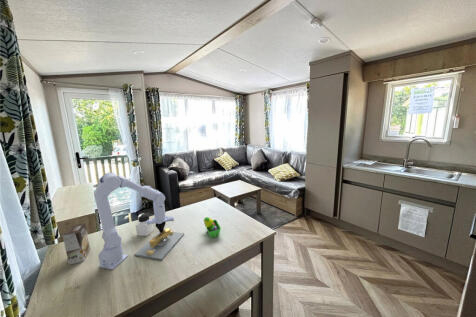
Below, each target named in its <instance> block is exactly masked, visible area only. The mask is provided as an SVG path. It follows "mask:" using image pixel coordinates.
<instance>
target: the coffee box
mask: <svg viewBox="0 0 476 317" xmlns="http://www.w3.org/2000/svg"><path fill="white" fill-rule="evenodd" d="M62 239H63V240H62V241H63V244H64V248H65V252H66V256H67V261H68V265H74V264H79V263H82V262H85V260H86V258H87V257H88V255H89V254H90V252H91V246H90V241H89V235H88V230H87V225H86V223H80V224H75V225H71V226H70V227H69V228H68V229H67V230H66V231H65V232H64V233H63V234H62Z"/></svg>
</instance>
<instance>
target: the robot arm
mask: <svg viewBox="0 0 476 317" xmlns="http://www.w3.org/2000/svg"><path fill="white" fill-rule="evenodd" d="M122 188H129V189H131V190H134V191H136V192H138V194H139V196H141V197H143V198H145V199H148V200H150V201H152V205H153V206H152V207H153V214H154V218H150V219H151V220H147V225H149V224H153V225H154V224H155V225H154V226H155V228H156V229H157V230H158V231H159V232H160V233H161V232H162V231H164V230H165V226H166V223H167V222H174V221H175V216H166V209H165V201H166V196H165V194H164V193H163V192H161V191H159V190H158V189H154V188H152V186H151V185H143V186H142V185H141V184H138V183H136V182H134V181H133V180H131V179H129V178H127V177H124V176H121V175H119V174H115V173H113V172H107V173H104V174H103V175H102V176H101V177H100V178H99V180H98V183H97V185H96V187H95V190H94V192H93V197H94V199H95V200H94V201H95V203H96V208H97V211H98V216H99V220H100V223H101V226H102V235H101V238H102V240H103V241H104V244H103V248H102V250H101V251H100V252H99V253H98V261H99V265H98V267H99V268H103V269H107V270H114V269H115V268H116V267H117V266H118V265H119V264H120V263H122V262H123V261H124V260H125V259H126V258H127V257H128V256H129V255H128V254H124V250H123V245H122V237H121V236H120V235H119V233H118V231H117V229H116V225H115V221H114V217H113V214H112V209H111V206H110V202H109V195H111V193H113V192H114V191H115V190H117V189H122ZM159 232H158V233H159Z"/></svg>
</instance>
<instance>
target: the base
mask: <svg viewBox="0 0 476 317" xmlns="http://www.w3.org/2000/svg"><path fill="white" fill-rule="evenodd" d="M158 234H160V232H157V233H156V234H155V235H154V236H153V237H152V238H151V239H153V238H154V237H155V236H157V235H158ZM184 235H185V233H184V232H178V231H177V232H176V231H174V230H171V234H170V235H169V236H168V237H167V238H168V240H167V241H166V242H165V243H163V244H159V245H156V246H155V247H154V248H153V247H150V242H149V241H148V242H146V243H145V244H144V245H143V246H142V247H141V248H140V249H138V250H137V251H136V252H135V253H134V256H135V257H141V258H146V259H152V260H158V261H163V260H164V258H165V257H166V256H167V255H168V254H169V253H170V252H171V251H172V249H173V248H174V247H175V246H176V245H177V243H178V242H179V241H180V240H181V239H182V238H183V237H184Z"/></svg>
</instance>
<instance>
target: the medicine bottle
mask: <svg viewBox="0 0 476 317" xmlns="http://www.w3.org/2000/svg"><path fill="white" fill-rule="evenodd" d="M151 219H152V218H150V214H149V213H146V212H143V213H141V214H139V215H138V216H137V221H138V222H137V223H136V224H135V230H136V236H141V237H142V236H144V237H145V236H146V237H147V236H149V235H150V234H151V233H152V232H153V231H154V228H155V227H154V224H149V225H147V220H151Z"/></svg>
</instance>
